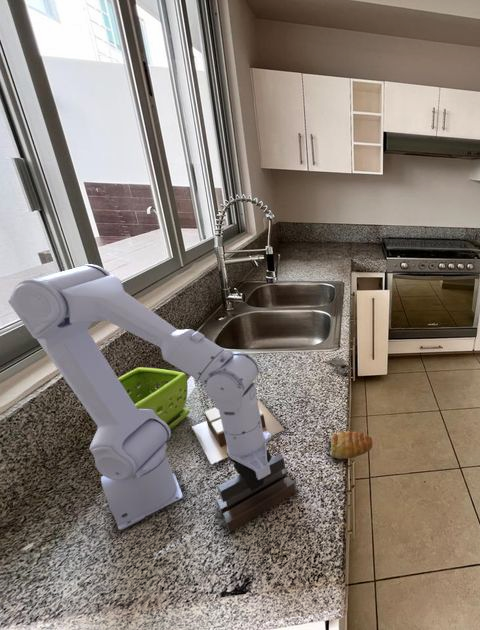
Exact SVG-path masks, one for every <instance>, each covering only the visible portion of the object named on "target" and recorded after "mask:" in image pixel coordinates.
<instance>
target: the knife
mask: <svg viewBox="0 0 480 630" xmlns="http://www.w3.org/2000/svg"><path fill="white" fill-rule="evenodd" d="M269 466H270V472H271V474H269V475H267V476H265V477H264V483H263V485H262V486H260V487H258V488H257V489H255V490H253V491H252V490H251V489H250V487H249V486H248V484H247V482H246V480H245V478H244V477H243V476H241V475H240V474H238V475H236V476H234V477H232V478H231V479H228V480H227V481H224V482H223V483H221V484H219V485H217V489H218V493H219V496H220V499H222V501H223V502H225V501H226V504H227V508H228V510H230V509H232V508H233V507H235V506H237V505H239V504H240V503H242V502H244V501H246V500H247V499H249V498H251V497H253V496H254V495H256V494H258V493H260V492H261V491H263V490H265V489H267V488H268V487H270V486H272V485H274V484H275V483H277V482H279V481H281V480H282V479H283V474H282V470H283V469H284V470H285V469H286V463H285V458H284V456H283V455H282V454H281V453H279V454H277V455H275V456H272V457H271V460H270V461H269Z"/></svg>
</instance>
